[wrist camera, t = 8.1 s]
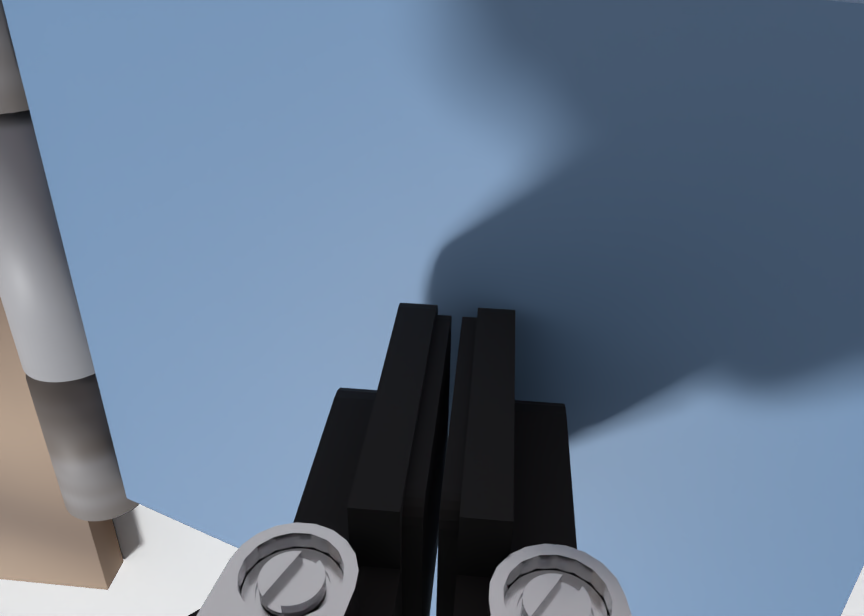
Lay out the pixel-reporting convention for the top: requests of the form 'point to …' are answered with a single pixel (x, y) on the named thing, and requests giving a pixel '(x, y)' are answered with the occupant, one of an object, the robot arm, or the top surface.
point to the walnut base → (53, 451)
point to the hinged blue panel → (465, 254)
